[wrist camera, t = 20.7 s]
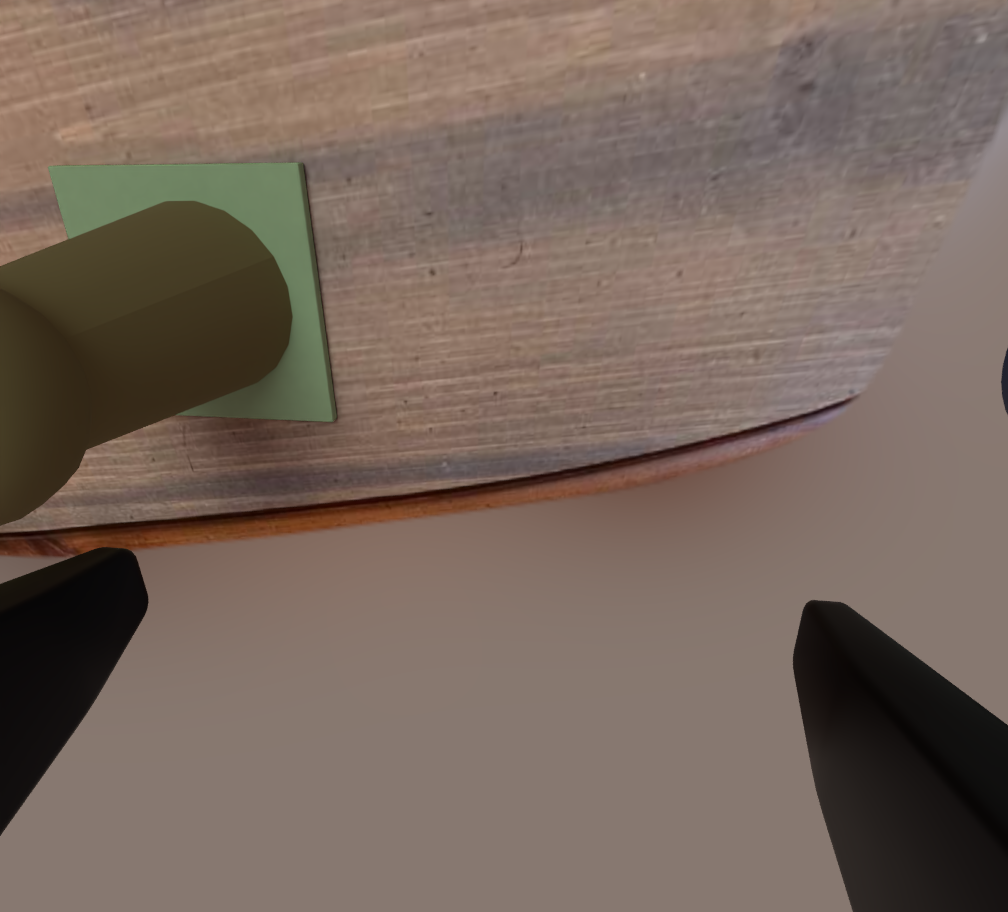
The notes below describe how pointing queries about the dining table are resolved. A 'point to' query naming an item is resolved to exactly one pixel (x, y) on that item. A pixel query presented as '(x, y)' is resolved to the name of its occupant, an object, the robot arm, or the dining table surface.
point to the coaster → (277, 223)
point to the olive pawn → (128, 336)
